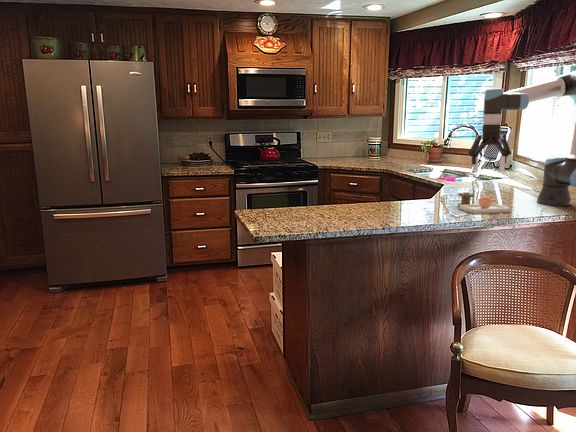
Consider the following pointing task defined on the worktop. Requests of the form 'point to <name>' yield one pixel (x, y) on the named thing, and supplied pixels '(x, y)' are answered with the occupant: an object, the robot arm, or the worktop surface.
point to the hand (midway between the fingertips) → (488, 171)
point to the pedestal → (465, 198)
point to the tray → (478, 210)
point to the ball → (485, 202)
